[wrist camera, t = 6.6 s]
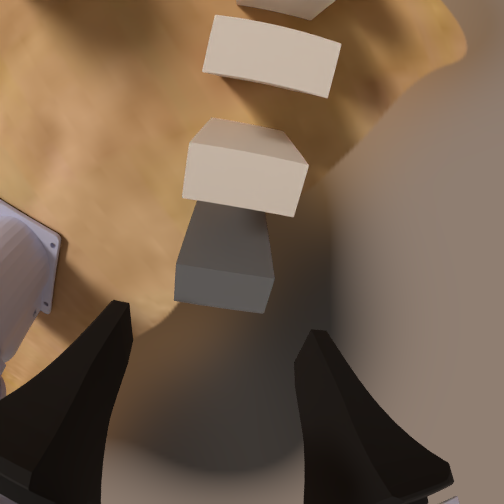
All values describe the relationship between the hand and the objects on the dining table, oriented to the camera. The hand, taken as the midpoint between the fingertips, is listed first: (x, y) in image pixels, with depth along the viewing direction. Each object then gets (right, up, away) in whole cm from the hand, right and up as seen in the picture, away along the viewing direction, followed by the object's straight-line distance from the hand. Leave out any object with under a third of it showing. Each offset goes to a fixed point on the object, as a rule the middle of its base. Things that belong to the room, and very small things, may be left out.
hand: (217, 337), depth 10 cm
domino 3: (0, +5, +8) cm, 9 cm away
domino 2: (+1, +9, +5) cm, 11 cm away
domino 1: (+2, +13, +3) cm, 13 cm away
